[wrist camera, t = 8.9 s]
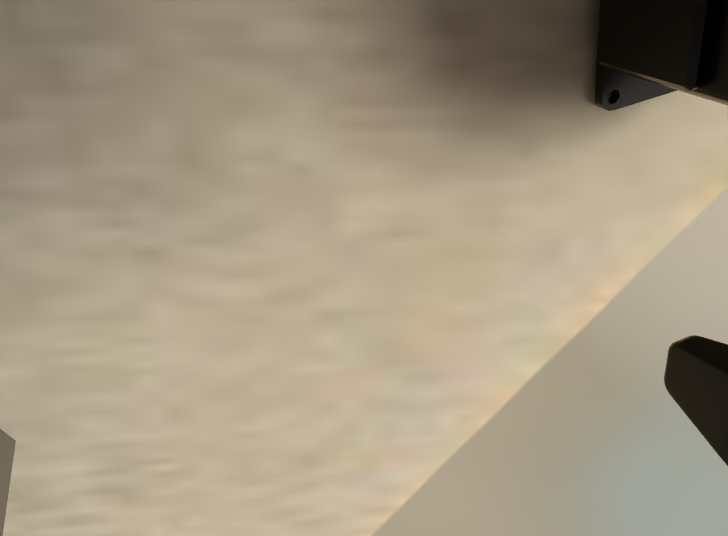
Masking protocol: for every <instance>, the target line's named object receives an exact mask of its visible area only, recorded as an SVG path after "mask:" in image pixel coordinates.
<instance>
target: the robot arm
mask: <svg viewBox="0 0 728 536" xmlns="http://www.w3.org/2000/svg"><path fill="white" fill-rule="evenodd" d="M677 90H679V91H682V92H686V93H689V94H692V95H695V96H699V97H702V98H705V99H708V100H712V101H715V102H718V103H722V104H725V105H728V0H600V13H599V31H598V49H597V67H596V85H595V103H596V104H597V106H598V107H600V108H603V109H605V110H608V111H610V110H615V109H619V108H622V107H625V106H628V105H632V104H635V103H638V102H641V101H644V100H648V99H651V98H654V97H657V96H661V95H664V94H667V93H670V92H673V91H677ZM611 91H612V95H611V97H610V98H609V100H608V96H609V94H610V93H611ZM664 382H665V386H666V389H667V390H668V392H669V394H670V395H671V396H672V397H673V399H674V400H675V401H676V402H677V404H678V405H679V406H680V408H681V409H682V410H683V411H684V413H685V414H686V415H687V416H688V418H689V419H690V420H691V421H692V422H693V424H694V425H695V426H696V427H697V429H698V430H699V431H700V432H701V434H702V435H703V436H704V437H705V439H706V440H707V441H708V442H709V444H710V445H711V446H712V447H713V449H714V450H715V451H716V452H717V454H718V455H719V456H720V457H721V458H722V460H723V461H724V462H725V463H726V464H727V466H728V345H727V344H724V343H720V342H717V341H714V340H711V339H707V338H704V337H700V336H688V337H686V338H683V339H681V340H679V341H676V342H674V343H672V344H671V346H670V347H669V350H668V357H667V363H666V369H665V375H664Z"/></svg>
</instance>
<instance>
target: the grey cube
mask: <svg viewBox="0 0 728 536" xmlns="http://www.w3.org/2000/svg"><path fill="white" fill-rule="evenodd" d="M15 442H16V441H15V440H14V439H13V438H11V437H10V436H9V435H7V434H6V433H5V432H4V431H2V430H1V429H0V536H2V535H3V528H4V520H5V513H6V506H7V499H8V492H9V485H10V478H11V470H12V463H13V456H14V449H15Z"/></svg>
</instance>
